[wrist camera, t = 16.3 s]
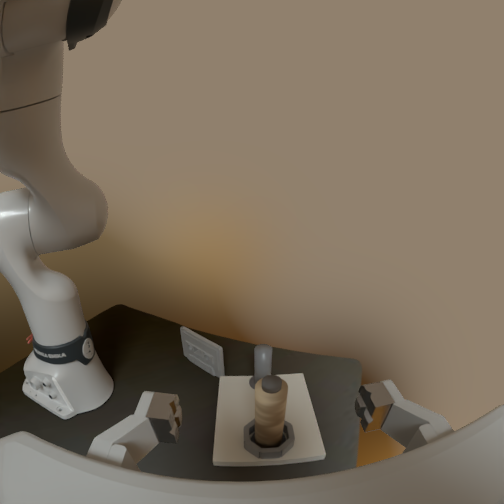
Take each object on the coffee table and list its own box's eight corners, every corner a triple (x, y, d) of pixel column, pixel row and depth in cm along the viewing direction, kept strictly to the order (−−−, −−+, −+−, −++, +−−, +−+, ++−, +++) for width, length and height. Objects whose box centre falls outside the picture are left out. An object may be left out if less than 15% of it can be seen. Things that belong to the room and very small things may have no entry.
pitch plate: (213, 465, 29) (205, 431, 27) (220, 379, 49) (217, 341, 47) (324, 459, 30) (337, 423, 27) (301, 377, 50) (306, 338, 47)
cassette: (226, 376, 50) (224, 346, 48) (220, 380, 49) (217, 350, 47) (188, 353, 58) (184, 324, 56) (182, 356, 56) (177, 327, 54)
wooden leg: (255, 450, 31) (255, 393, 28) (254, 430, 35) (254, 371, 31) (283, 449, 31) (290, 391, 28) (280, 429, 35) (286, 369, 31)
